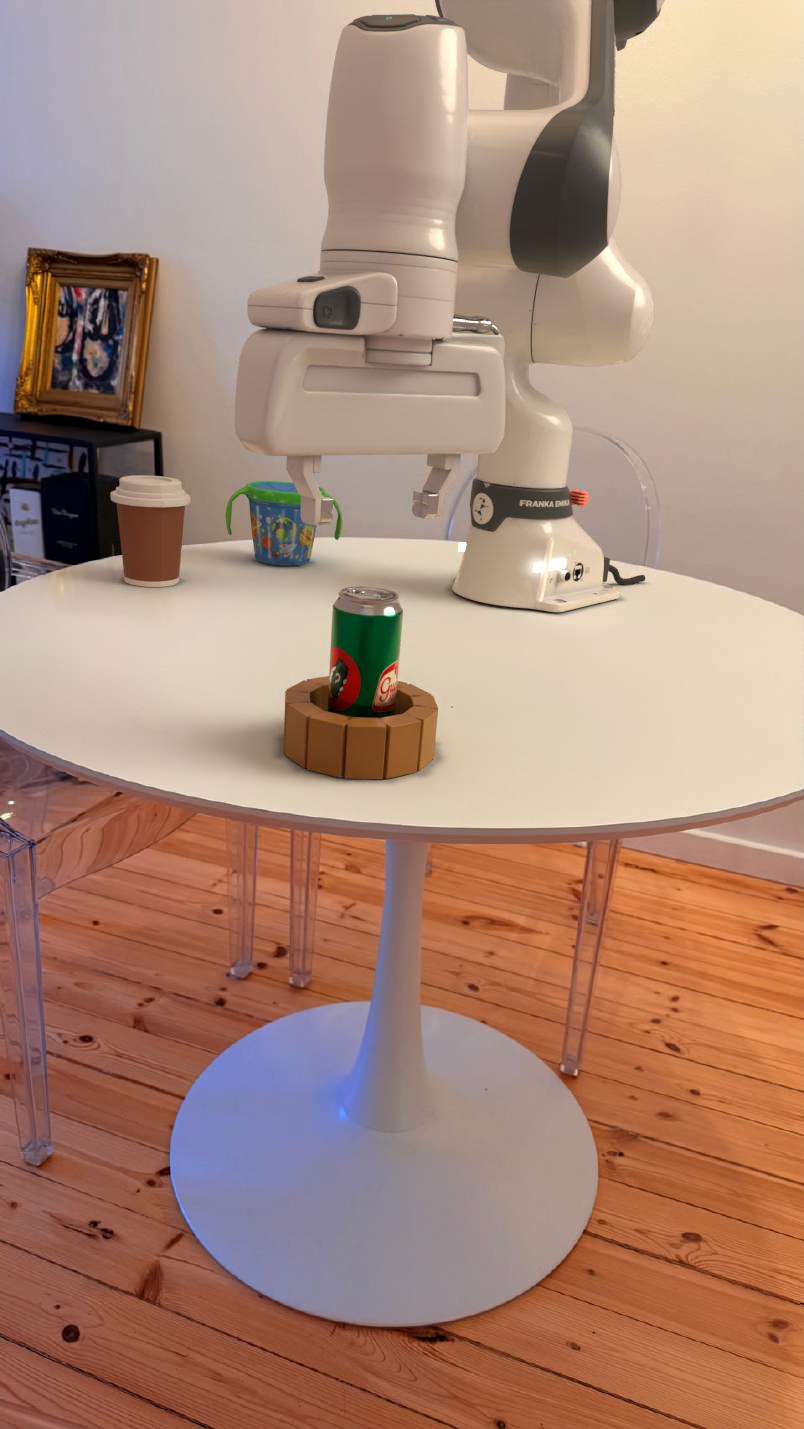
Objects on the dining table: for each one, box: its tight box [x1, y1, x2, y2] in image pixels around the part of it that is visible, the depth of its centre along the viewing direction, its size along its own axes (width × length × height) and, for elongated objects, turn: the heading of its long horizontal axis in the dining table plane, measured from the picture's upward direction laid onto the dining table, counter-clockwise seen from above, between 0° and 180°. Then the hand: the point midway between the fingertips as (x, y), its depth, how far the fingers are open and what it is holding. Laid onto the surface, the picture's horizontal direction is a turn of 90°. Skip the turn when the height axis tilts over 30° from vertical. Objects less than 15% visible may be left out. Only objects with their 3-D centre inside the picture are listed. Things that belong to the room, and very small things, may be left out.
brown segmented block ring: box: [283, 675, 439, 780], centre depth 74 cm, size 11×11×4 cm
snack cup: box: [225, 480, 343, 566], centre depth 133 cm, size 16×10×10 cm
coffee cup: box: [110, 474, 192, 588], centre depth 117 cm, size 9×9×12 cm
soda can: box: [327, 586, 404, 718], centre depth 73 cm, size 5×5×12 cm
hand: (373, 520), depth 69 cm, fingers open, 8 cm apart
